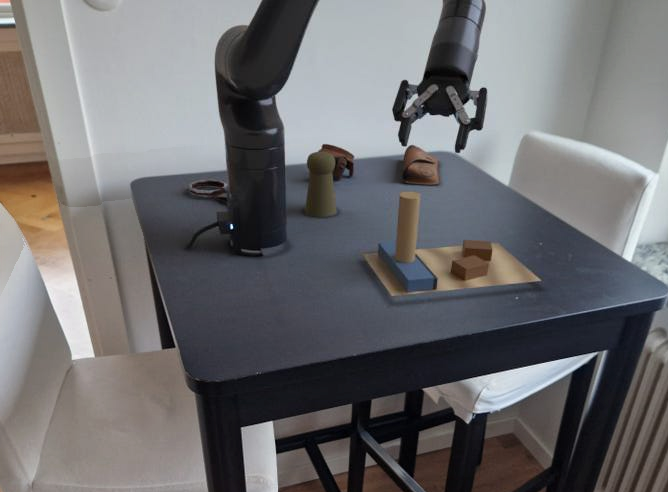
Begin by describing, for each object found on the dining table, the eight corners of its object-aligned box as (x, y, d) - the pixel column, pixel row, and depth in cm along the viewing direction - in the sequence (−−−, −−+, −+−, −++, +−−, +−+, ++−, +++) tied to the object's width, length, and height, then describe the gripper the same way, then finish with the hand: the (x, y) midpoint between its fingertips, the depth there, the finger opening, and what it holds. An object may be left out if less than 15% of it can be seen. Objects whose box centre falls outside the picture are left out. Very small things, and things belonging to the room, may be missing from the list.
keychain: (252, 215, 126) (252, 205, 124) (180, 193, 135) (179, 183, 133) (279, 204, 131) (279, 194, 130) (208, 184, 140) (208, 174, 139)
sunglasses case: (442, 183, 144) (428, 155, 141) (412, 198, 146) (398, 171, 143) (440, 159, 159) (427, 134, 156) (412, 173, 161) (400, 148, 158)
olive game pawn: (332, 218, 126) (333, 159, 120) (301, 215, 127) (300, 156, 121) (339, 207, 131) (341, 150, 125) (309, 204, 132) (309, 147, 126)
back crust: (463, 259, 108) (464, 247, 107) (461, 251, 111) (463, 239, 110) (490, 261, 108) (492, 249, 107) (488, 252, 111) (490, 241, 110)
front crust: (464, 281, 102) (466, 268, 100) (450, 272, 104) (452, 260, 103) (487, 275, 103) (488, 263, 102) (472, 266, 106) (474, 255, 105)
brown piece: (299, 177, 147) (312, 141, 146) (336, 193, 151) (349, 158, 150) (320, 179, 136) (334, 140, 135) (359, 196, 141) (373, 158, 140)
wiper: (407, 292, 98) (413, 212, 91) (377, 253, 109) (381, 180, 102) (436, 289, 99) (445, 210, 92) (404, 251, 110) (410, 179, 104)
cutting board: (391, 305, 97) (391, 295, 97) (361, 262, 110) (361, 254, 109) (539, 289, 103) (541, 280, 103) (496, 250, 115) (497, 242, 115)
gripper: (406, 36, 106) (382, 128, 103) (497, 43, 102) (475, 139, 99) (411, 67, 113) (389, 154, 110) (497, 75, 109) (476, 165, 106)
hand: (430, 147), depth 104 cm, fingers open, 8 cm apart
